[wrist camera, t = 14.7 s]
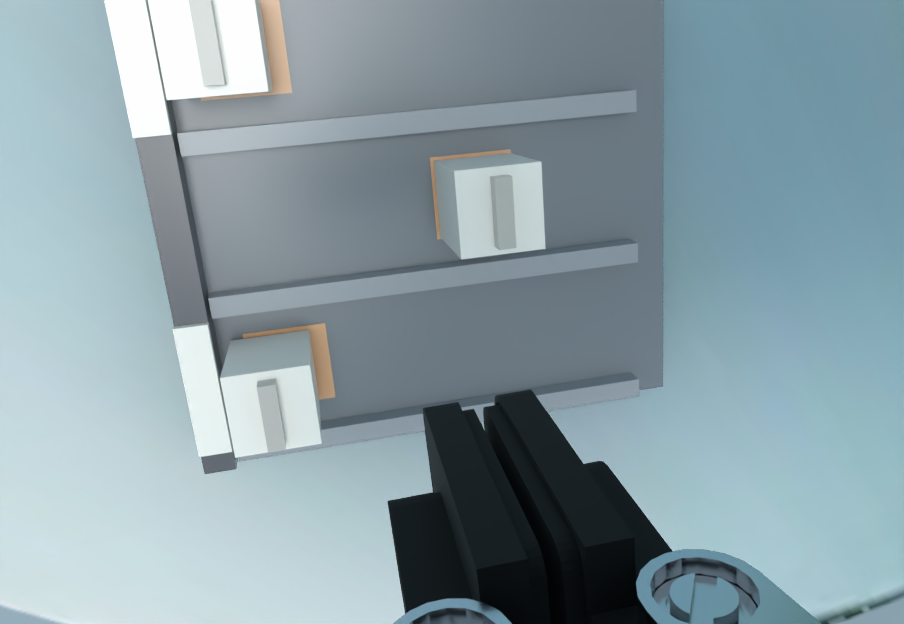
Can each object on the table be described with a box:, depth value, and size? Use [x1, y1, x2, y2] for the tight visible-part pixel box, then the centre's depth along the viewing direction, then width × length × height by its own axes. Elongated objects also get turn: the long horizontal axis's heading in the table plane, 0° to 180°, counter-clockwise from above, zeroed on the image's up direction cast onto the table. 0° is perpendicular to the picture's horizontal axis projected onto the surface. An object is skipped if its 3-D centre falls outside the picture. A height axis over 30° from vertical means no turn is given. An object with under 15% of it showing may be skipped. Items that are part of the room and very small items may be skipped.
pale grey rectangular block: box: [220, 330, 322, 458], centre depth 27 cm, size 3×3×5 cm
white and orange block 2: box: [434, 153, 545, 260], centre depth 27 cm, size 3×3×5 cm
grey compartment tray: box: [104, 0, 663, 474], centre depth 29 cm, size 20×19×3 cm
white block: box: [148, 0, 273, 100], centre depth 24 cm, size 3×3×5 cm
